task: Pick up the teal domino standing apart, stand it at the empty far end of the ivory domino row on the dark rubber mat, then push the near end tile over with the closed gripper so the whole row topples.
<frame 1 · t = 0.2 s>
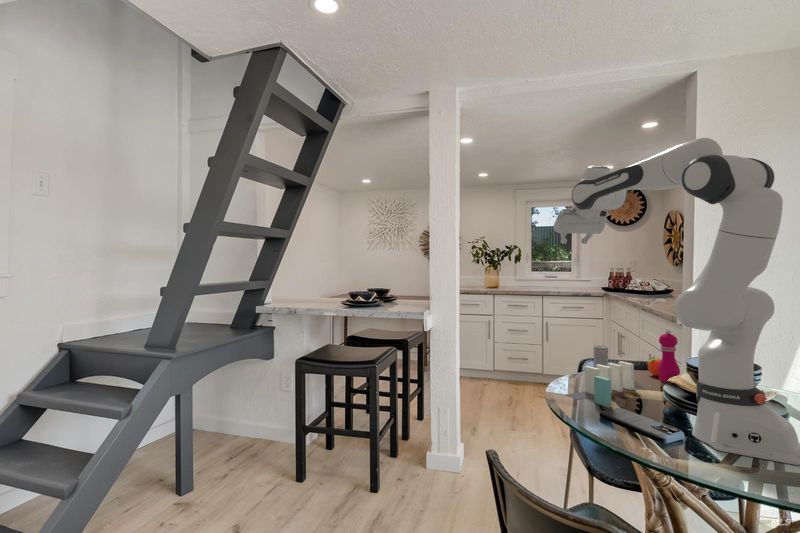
hand: (573, 243, 159), 54 cm above the table, tool tilted 30°, fingers open, 8 cm apart
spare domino: (602, 406, 132), on the table
domino 3: (604, 391, 146), resting on mat
domino 2: (615, 389, 148), resting on mat
pepper mill: (669, 382, 159), on the table
mat: (602, 393, 146), on the table
domino 4: (592, 393, 144), resting on mat
domino 1: (626, 387, 150), resting on mat
energy drink: (601, 376, 169), on the table
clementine: (656, 376, 167), on the table
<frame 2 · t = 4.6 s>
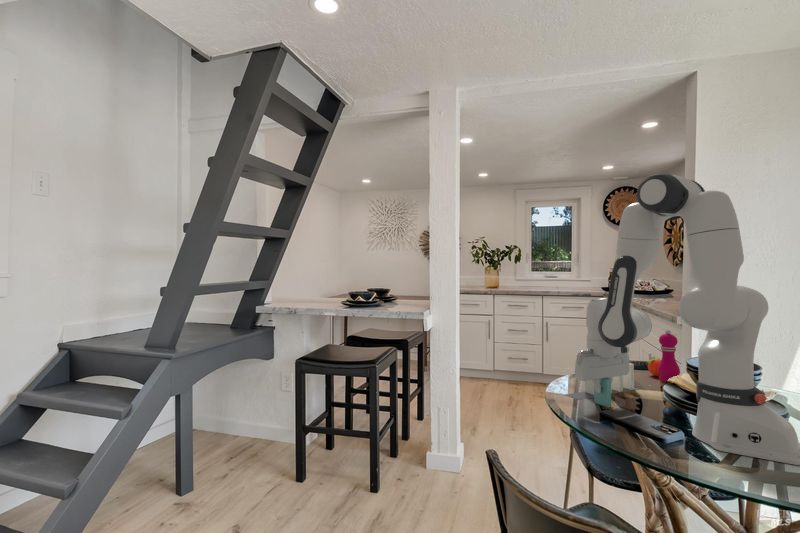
hand: (602, 391, 132), 5 cm above the table, tool pointing down, fingers closed on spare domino, 2 cm apart
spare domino: (602, 406, 132), on the table, touching gripper
everything else where it was.
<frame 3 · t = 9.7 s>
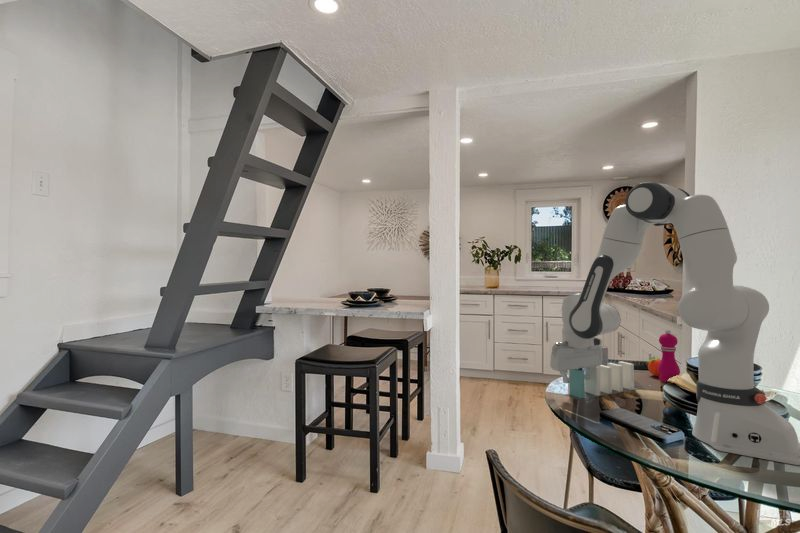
hand: (577, 381, 141), 6 cm above the table, tool pointing down, fingers open, 8 cm apart
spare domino: (577, 396, 141), resting on mat
domino 4: (592, 393, 144), point 1 cm above the table, touching gripper, mat
everything else where it was.
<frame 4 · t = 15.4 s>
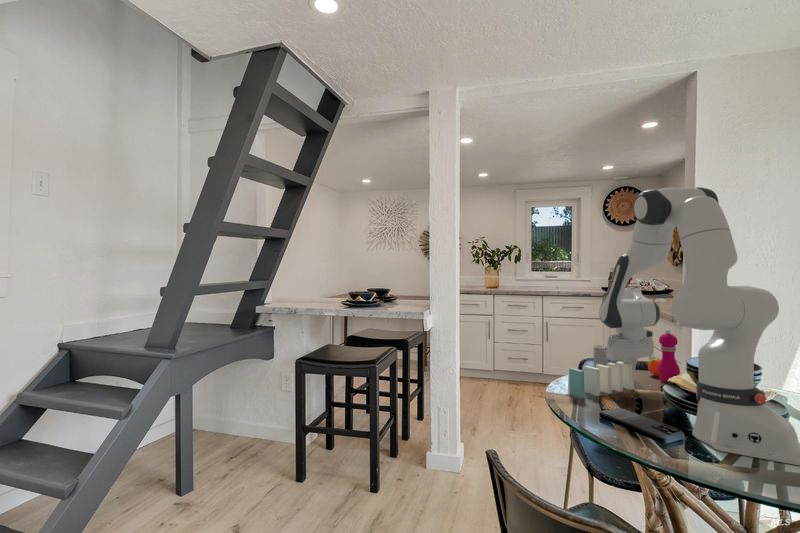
hand: (630, 370, 151), 6 cm above the table, tool pointing down, fingers closed
domino 4: (592, 393, 144), resting on mat
domino 1: (626, 387, 150), point 1 cm above the table, tilted 7°, touching mat
everything else where it was.
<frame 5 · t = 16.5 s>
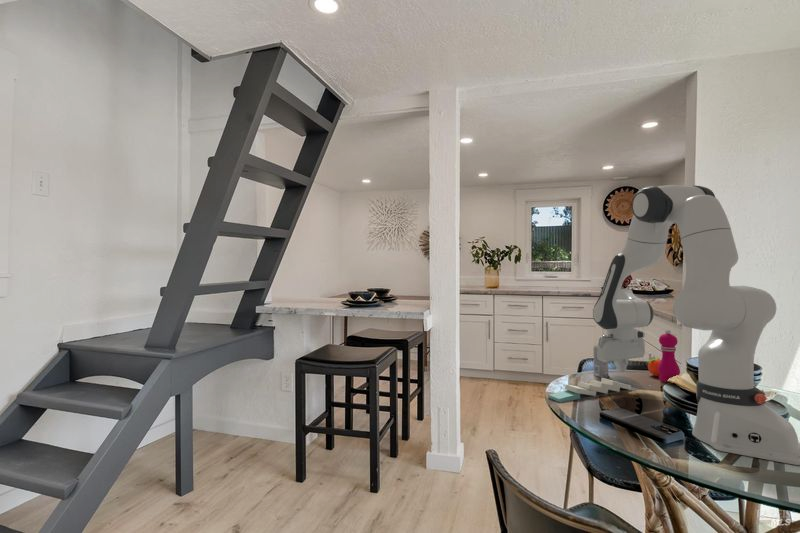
hand: (621, 371, 149), 7 cm above the table, tool pointing down, fingers closed
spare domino: (574, 393, 141), point 1 cm above the table, tilted 94°, touching domino 4, mat
domino 3: (601, 389, 145), point 1 cm above the table, tilted 73°, touching domino 2, domino 4, mat
domino 2: (613, 387, 148), point 1 cm above the table, tilted 73°, touching domino 1, domino 3, mat
domino 4: (590, 391, 143), point 1 cm above the table, tilted 76°, touching domino 3, mat, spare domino
domino 1: (624, 385, 150), point 1 cm above the table, tilted 73°, touching domino 2, mat
everything else where it was.
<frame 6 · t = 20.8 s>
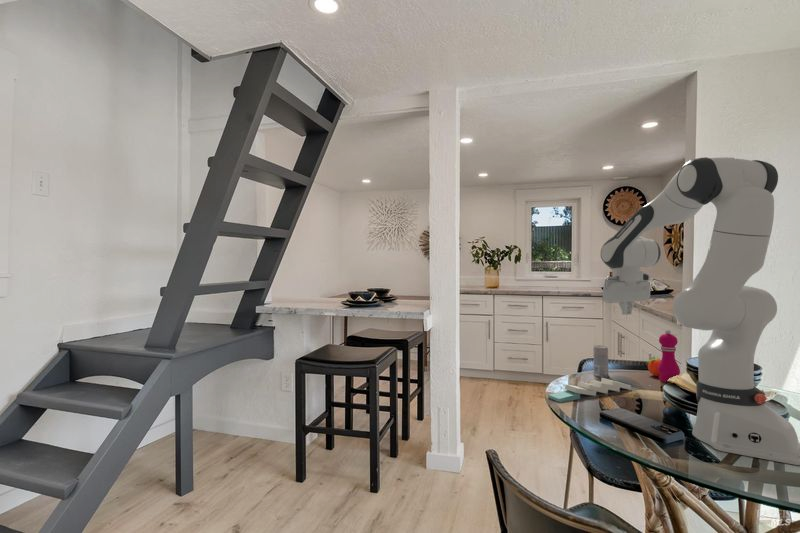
hand: (626, 314, 150), 27 cm above the table, tool pointing down, fingers closed
nothing on the table moved.
at the end: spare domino tilted 94°; domino 1 tilted 73°; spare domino inside the target area (1.0 cm from its centre), point 1.4 cm above the table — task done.
